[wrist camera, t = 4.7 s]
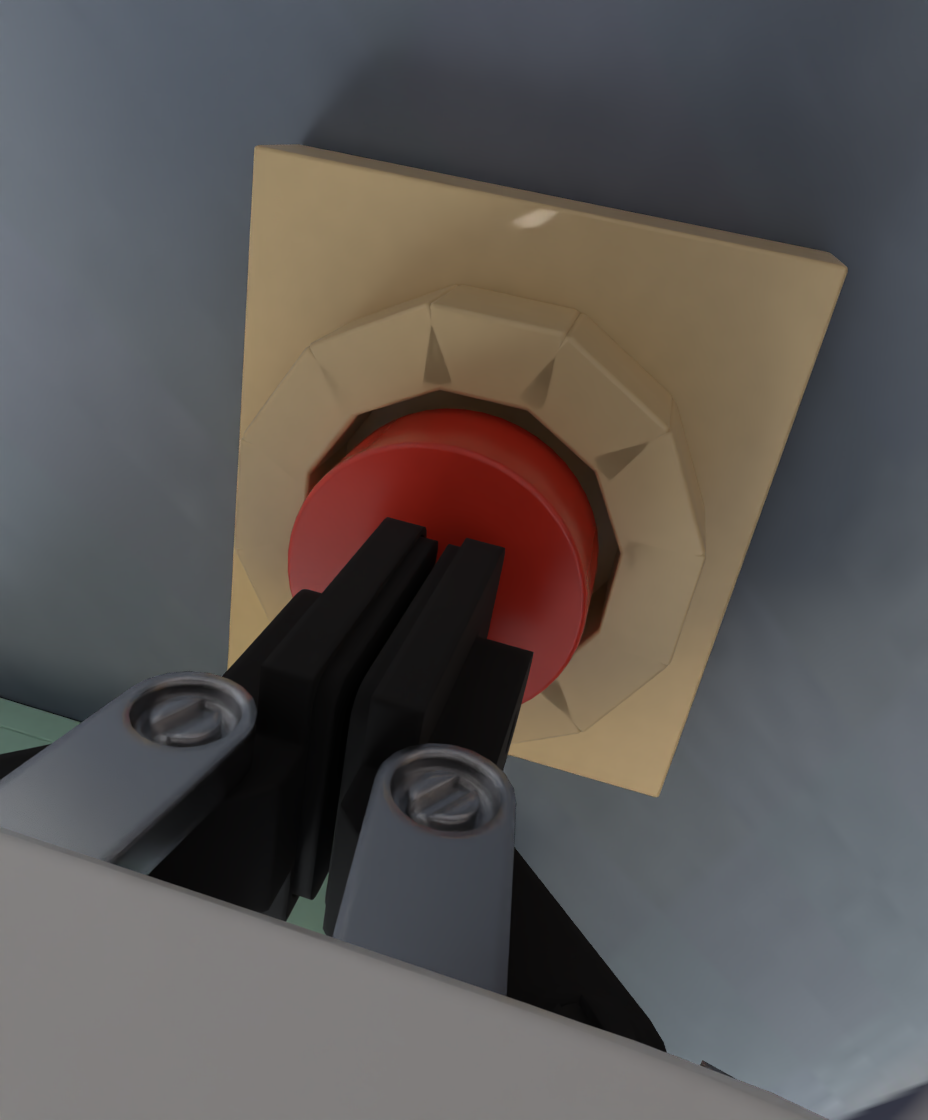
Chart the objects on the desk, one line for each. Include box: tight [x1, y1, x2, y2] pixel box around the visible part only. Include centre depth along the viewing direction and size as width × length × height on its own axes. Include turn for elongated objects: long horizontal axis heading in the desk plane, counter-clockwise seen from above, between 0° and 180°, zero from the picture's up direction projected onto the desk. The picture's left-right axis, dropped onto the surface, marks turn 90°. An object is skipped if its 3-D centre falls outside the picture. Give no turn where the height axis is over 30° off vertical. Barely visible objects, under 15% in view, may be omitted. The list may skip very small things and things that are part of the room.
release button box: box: [228, 144, 848, 797], centre depth 15 cm, size 10×9×4 cm
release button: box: [288, 408, 599, 704], centre depth 13 cm, size 4×4×2 cm
